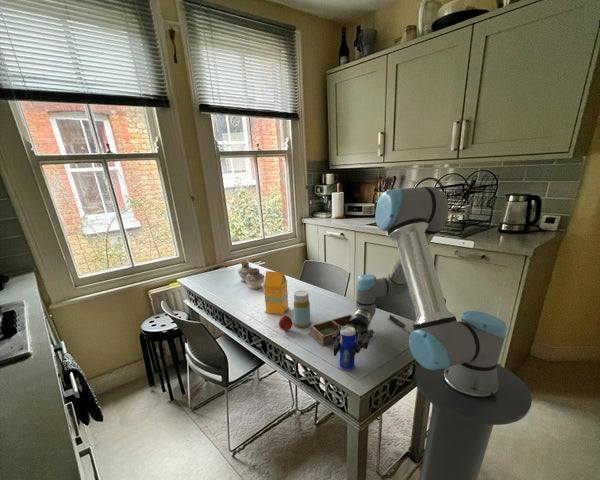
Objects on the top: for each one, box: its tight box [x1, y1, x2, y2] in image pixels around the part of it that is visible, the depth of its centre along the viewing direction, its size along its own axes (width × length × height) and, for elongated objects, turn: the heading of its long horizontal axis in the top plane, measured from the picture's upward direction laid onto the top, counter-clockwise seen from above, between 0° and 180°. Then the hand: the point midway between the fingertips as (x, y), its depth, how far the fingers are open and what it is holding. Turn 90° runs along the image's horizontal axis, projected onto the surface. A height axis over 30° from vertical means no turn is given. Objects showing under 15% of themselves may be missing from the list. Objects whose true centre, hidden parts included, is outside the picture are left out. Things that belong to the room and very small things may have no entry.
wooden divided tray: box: [310, 314, 353, 347], centre depth 132 cm, size 11×20×4 cm, turn 117°
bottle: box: [293, 290, 311, 328], centre depth 138 cm, size 7×7×15 cm
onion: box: [278, 313, 294, 332], centre depth 135 cm, size 6×6×8 cm
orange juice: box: [263, 270, 289, 316], centre depth 151 cm, size 8×9×20 cm
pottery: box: [237, 259, 265, 290], centre depth 188 cm, size 11×25×12 cm, turn 30°
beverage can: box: [339, 326, 357, 371], centre depth 109 cm, size 5×5×15 cm
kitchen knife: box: [389, 314, 414, 334], centre depth 135 cm, size 18×1×2 cm, turn 21°
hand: (343, 354), depth 104 cm, fingers closed on beverage can, 5 cm apart
